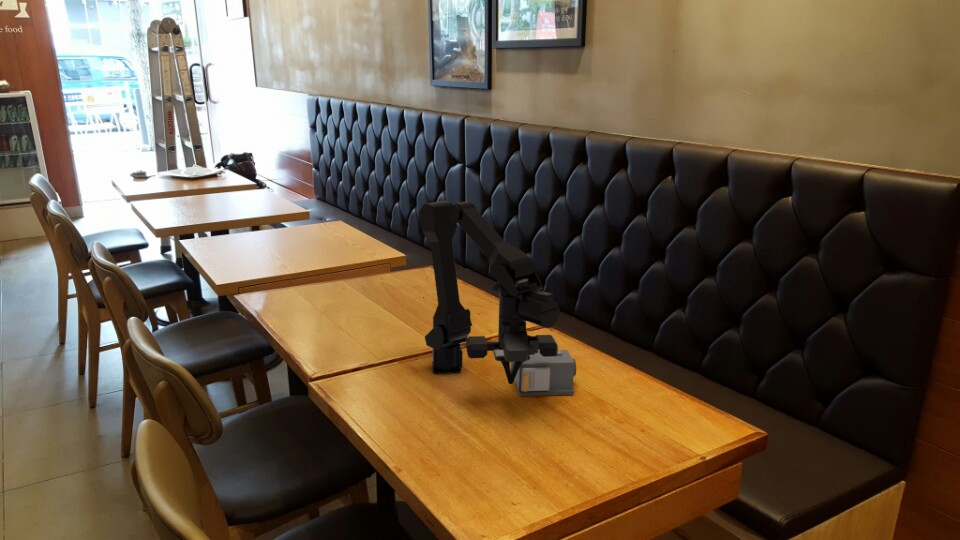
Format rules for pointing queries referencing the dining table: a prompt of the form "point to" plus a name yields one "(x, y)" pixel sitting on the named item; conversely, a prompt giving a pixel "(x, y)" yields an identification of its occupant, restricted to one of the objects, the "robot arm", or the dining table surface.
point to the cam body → (551, 373)
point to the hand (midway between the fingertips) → (510, 383)
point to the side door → (535, 379)
